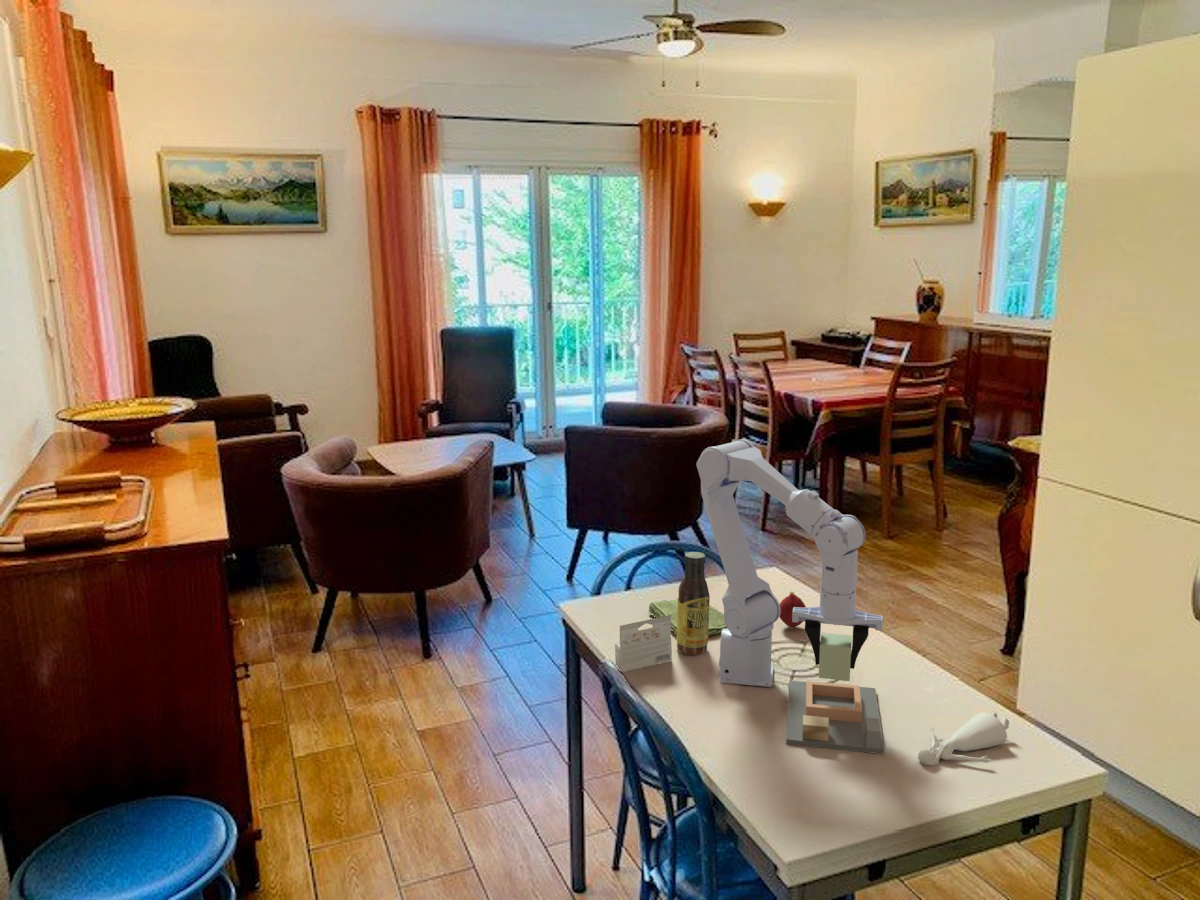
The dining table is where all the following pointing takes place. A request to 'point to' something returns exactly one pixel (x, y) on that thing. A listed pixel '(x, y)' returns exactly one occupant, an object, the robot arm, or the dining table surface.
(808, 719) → the tan eraser block
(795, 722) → the housing
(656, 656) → the ink cartridge box
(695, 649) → the sauce bottle
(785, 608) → the onion
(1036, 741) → the dining table surface
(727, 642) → the robot arm
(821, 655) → the sage green cube
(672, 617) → the washcloth
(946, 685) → the dining table surface
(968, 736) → the woman figurine
